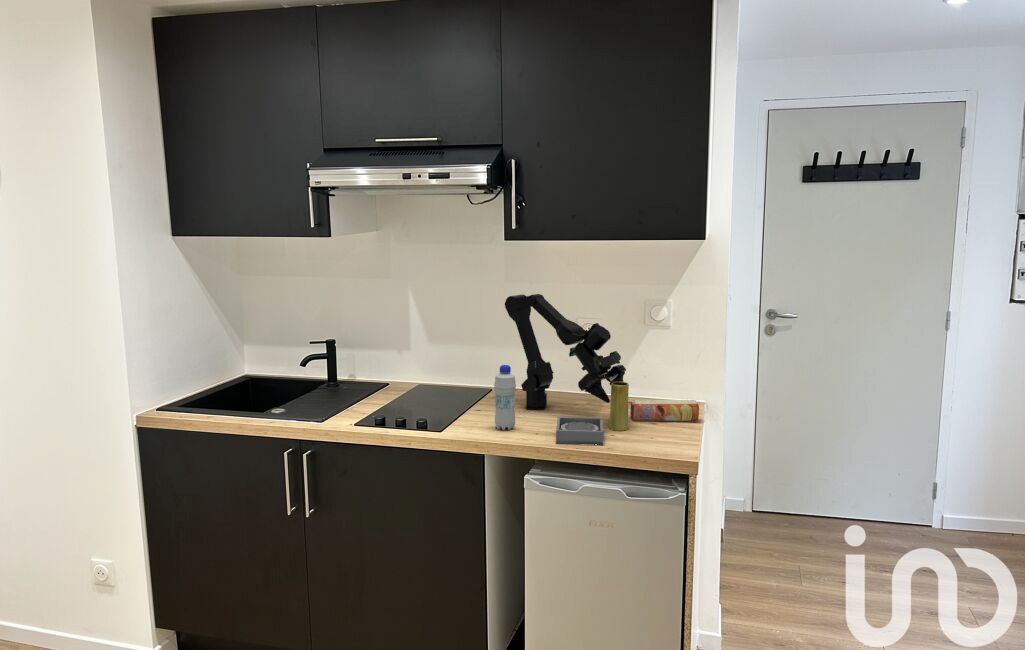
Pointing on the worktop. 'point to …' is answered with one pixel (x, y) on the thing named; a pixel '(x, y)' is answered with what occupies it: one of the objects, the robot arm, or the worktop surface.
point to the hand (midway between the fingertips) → (617, 399)
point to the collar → (579, 426)
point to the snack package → (665, 410)
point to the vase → (619, 406)
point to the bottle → (505, 398)
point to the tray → (579, 432)
